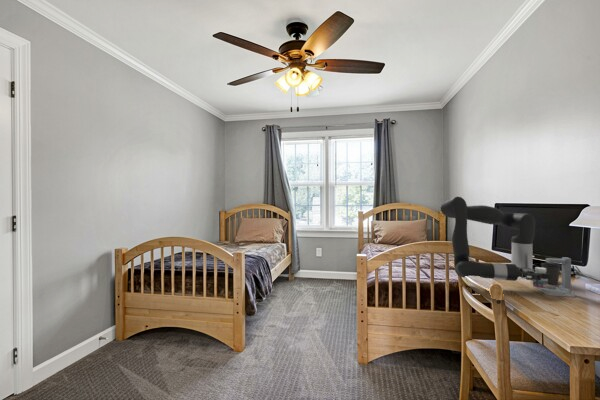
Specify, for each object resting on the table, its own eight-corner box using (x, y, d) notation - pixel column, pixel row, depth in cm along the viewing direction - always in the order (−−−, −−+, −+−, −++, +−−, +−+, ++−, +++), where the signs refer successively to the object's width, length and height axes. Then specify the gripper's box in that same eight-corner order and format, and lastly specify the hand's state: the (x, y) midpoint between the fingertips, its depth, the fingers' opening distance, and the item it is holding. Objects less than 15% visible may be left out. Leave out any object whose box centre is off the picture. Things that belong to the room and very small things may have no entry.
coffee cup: (566, 285, 145) (566, 264, 144) (548, 285, 145) (549, 264, 145) (552, 281, 153) (552, 261, 152) (535, 280, 153) (536, 261, 153)
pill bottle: (532, 285, 140) (532, 266, 140) (546, 287, 137) (546, 267, 137) (533, 288, 136) (534, 268, 135) (548, 290, 133) (549, 270, 133)
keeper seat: (536, 288, 141) (536, 254, 141) (562, 290, 138) (563, 255, 138) (547, 295, 132) (547, 259, 131) (575, 297, 129) (575, 260, 128)
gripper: (509, 267, 134) (555, 270, 129) (498, 260, 147) (540, 262, 142) (509, 284, 134) (555, 287, 129) (498, 275, 147) (539, 278, 143)
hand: (547, 274), depth 136 cm, fingers closed on pill bottle, 5 cm apart
